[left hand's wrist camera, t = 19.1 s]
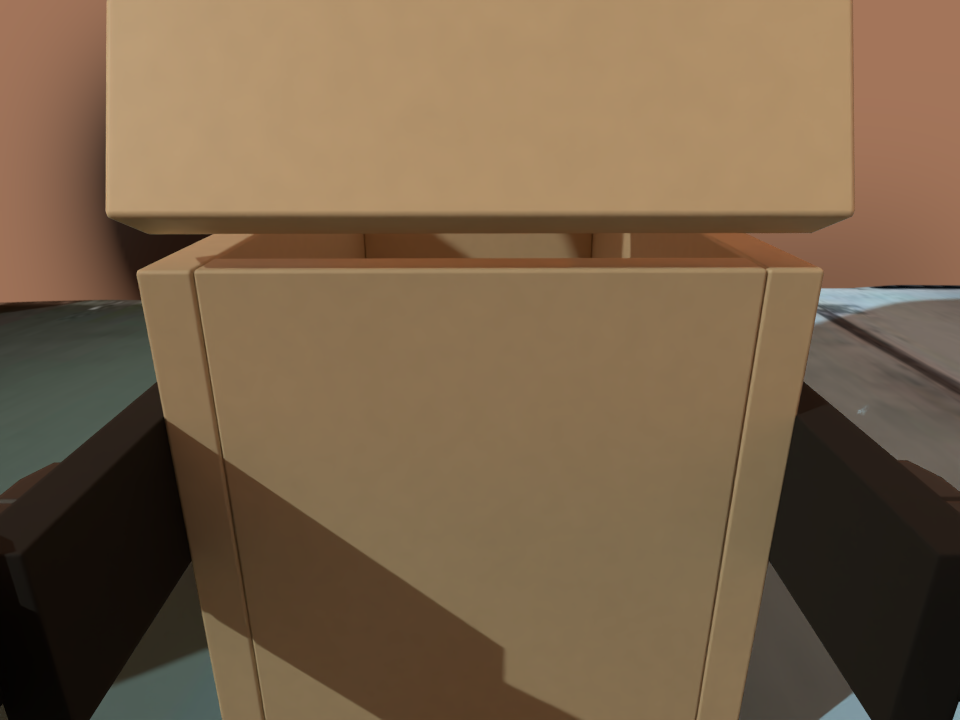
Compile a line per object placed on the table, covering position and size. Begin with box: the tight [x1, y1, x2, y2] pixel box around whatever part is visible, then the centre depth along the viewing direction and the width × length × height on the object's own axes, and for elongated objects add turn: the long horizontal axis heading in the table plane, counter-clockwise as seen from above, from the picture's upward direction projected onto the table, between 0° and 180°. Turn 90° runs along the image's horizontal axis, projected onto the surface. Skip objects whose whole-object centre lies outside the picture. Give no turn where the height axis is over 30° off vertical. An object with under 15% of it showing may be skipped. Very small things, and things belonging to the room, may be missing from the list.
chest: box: [137, 233, 824, 720], centre depth 18 cm, size 15×10×11 cm, turn 0°
